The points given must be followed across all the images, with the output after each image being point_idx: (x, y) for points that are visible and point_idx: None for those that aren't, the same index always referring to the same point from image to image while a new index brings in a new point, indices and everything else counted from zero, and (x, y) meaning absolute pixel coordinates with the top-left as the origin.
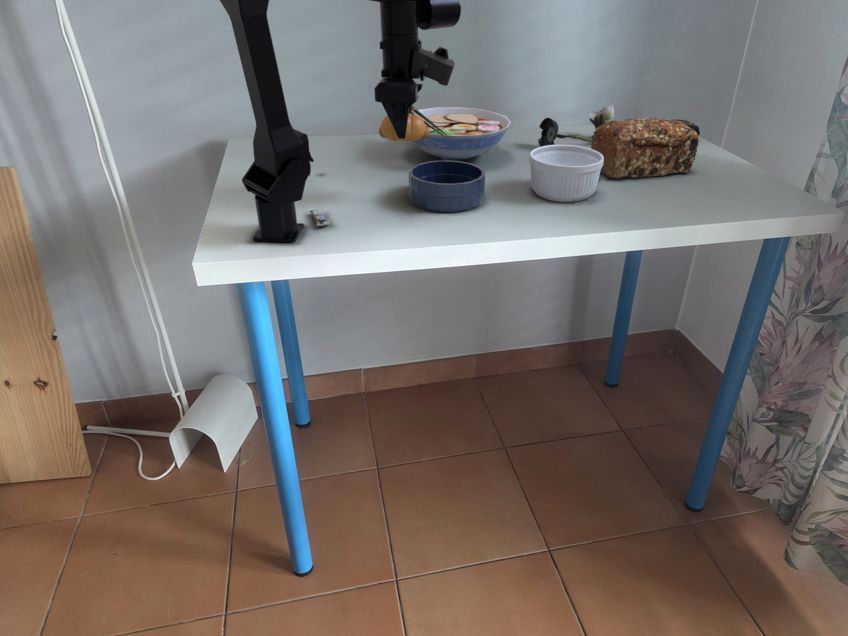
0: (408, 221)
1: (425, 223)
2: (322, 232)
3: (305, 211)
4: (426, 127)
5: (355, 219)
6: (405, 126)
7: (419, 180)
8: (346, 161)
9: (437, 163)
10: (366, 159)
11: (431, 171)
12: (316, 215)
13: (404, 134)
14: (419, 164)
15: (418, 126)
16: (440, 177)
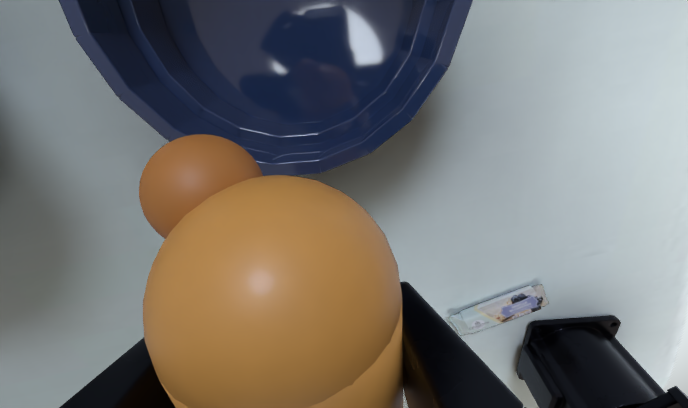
0: (507, 105)
1: (528, 43)
2: (562, 284)
3: None
4: (191, 180)
5: (486, 242)
6: (466, 353)
7: (419, 108)
8: (83, 348)
9: (121, 68)
10: (35, 315)
11: (164, 92)
12: (509, 319)
13: (422, 303)
14: None
15: (369, 253)
16: (158, 47)
